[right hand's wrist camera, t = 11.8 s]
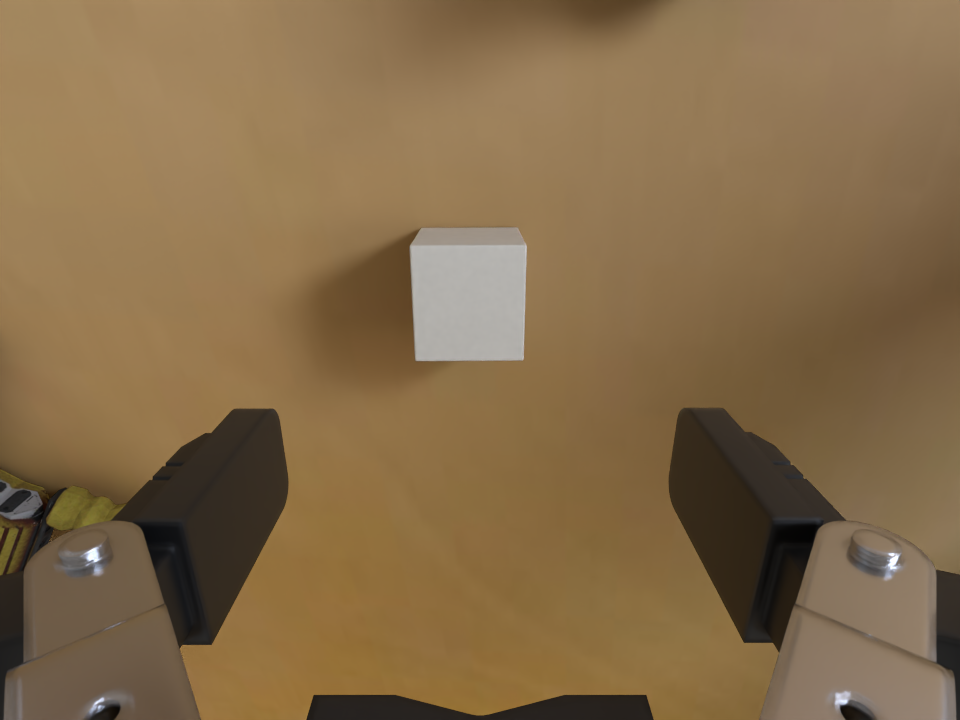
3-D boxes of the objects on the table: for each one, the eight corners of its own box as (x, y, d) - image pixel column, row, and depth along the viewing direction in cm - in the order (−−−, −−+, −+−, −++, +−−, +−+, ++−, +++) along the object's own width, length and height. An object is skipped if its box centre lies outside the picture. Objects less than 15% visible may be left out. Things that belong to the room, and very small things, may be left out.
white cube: (424, 326, 29) (415, 362, 24) (420, 227, 27) (409, 245, 22) (516, 326, 29) (523, 361, 24) (518, 227, 27) (526, 245, 22)
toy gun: (203, 422, 27) (-160, 341, 24) (140, 760, 34) (-144, 732, 31) (232, 384, 32) (-71, 311, 28) (171, 691, 39) (-76, 660, 36)
